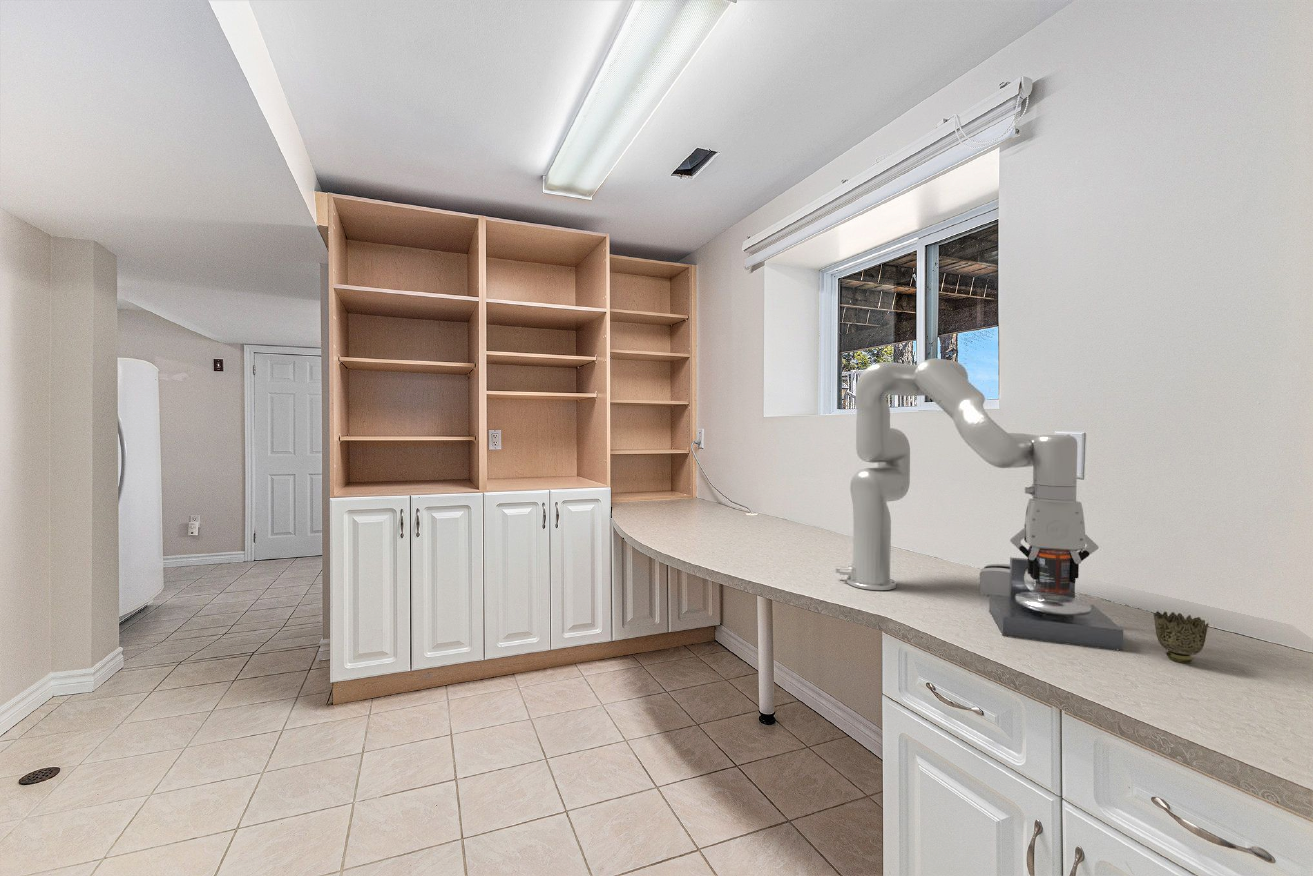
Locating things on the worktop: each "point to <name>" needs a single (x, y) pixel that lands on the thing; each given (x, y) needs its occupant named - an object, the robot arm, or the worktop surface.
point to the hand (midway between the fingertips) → (1052, 578)
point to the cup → (1180, 635)
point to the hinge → (995, 579)
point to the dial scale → (1050, 614)
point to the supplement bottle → (1053, 571)
